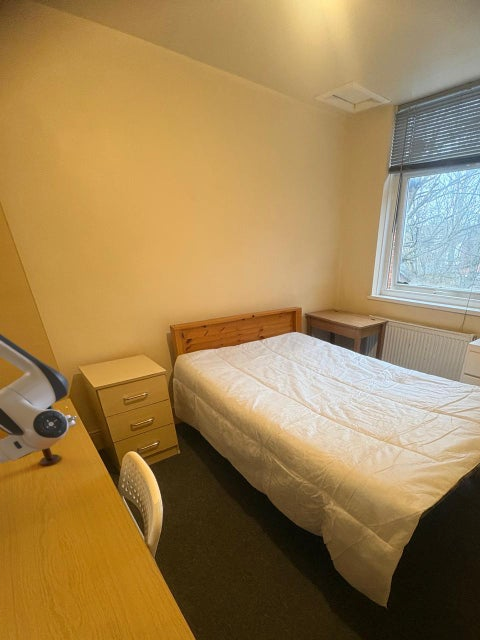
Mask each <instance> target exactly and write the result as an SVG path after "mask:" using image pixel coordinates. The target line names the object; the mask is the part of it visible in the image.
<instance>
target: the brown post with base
mask: <svg viewBox="0 0 480 640" xmlns="http://www.w3.org/2000/svg"><path fill="white" fill-rule="evenodd" d="M41 452H42V455H43V457H42V458H41V459H40V461H39V462H40V465H41V466H43V467H48V466H52V465H55V464H57V463H58V462H59V461H60V456H59V454H55V453H54V454H53V452H52V450H51V447H50V448H47V449H44V450H41Z"/></svg>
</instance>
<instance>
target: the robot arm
mask: <svg viewBox="0 0 480 640" xmlns="http://www.w3.org/2000/svg"><path fill="white" fill-rule="evenodd" d="M0 358H1V359H4V360H5V361H6V362H8V363H9V364H11V365H13V366H14V367H16V368H17V369H19V370H20V371H22V372H23V373H24V374H23V375H22V376H20V377H19V378H17V379H16V380H14V381H13V382H11V383H10V384H8V385H6V386H5V387H2V388H1V389H0V430H1V431H3V432H4V433H6V434H8V435H6V436H4V437H3V438H2V439H0V463H1V464H4V463H8V462H10V461H12V462H14V461H18V460H20V459H22V458H25V457H27V456H30V455H31V454H34V453H37V452H42V450H44V449H47V448H50V449H51V448H52V447H53V446H54V445H56V444H57V443H58V442H60V441H62V439H63V438H65V436H66V434H67V433H68V431H69V429H72V428H73V427H74V426H76V424H77V422H76V421H75V420H77V419H78V416H77V415H74V416H72V415H71V414H66V415H65V414H64V413H63V412H61V411H59V410H56V409H54V410H51V409H47V408H48V407H49V406H53V405H54V404H55V403H58V402H59V401H61V400H62V399H63V398H65V397H67V396H68V393H69V389H70V387H69V386H70V385H69V383H70V382H69V380H68V379H67V377H66V376H65V375H64V374H63V373H62V372H60V371H58V370H57V369H56V368H54V367H52V366H50V365H48V364H47V363H45V362H43V361H41V360H40V359H39V358H37V357H35V356H34V355H33V354H31V353H30V352H28V351H27V350H25V349H24V348H23V347H21V346H19V345H18V344H16V343H15V342H13V341H12V340H11V339H9V338H7V337H6V336H4V334H2V333H0Z"/></svg>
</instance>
